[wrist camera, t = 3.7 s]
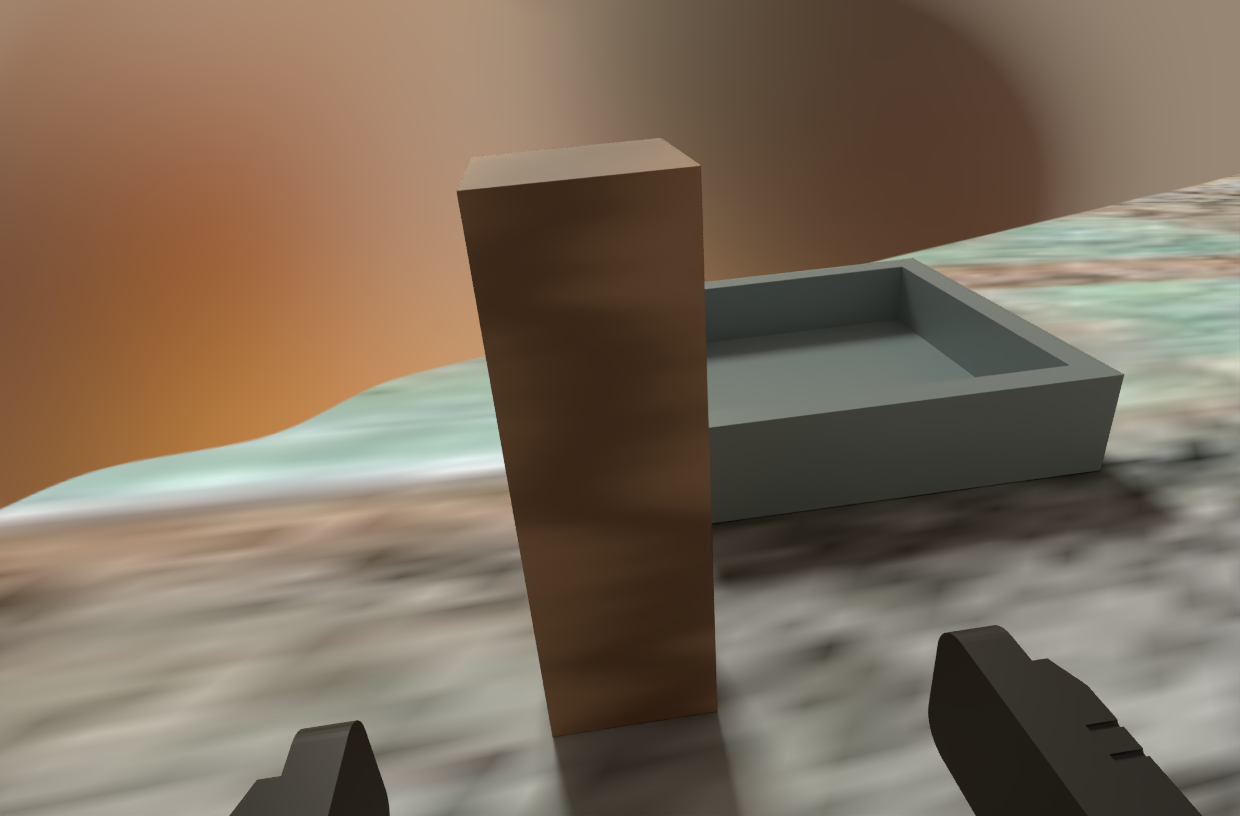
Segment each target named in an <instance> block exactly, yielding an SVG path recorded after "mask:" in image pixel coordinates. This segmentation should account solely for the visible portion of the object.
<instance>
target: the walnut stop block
mask: <svg viewBox="0 0 1240 816" xmlns="http://www.w3.org/2000/svg"><path fill="white" fill-rule="evenodd" d="M701 186H702V184H701V165H699V164H698V163H696V162H695V161H693V160H692V159H691V158H689V157H688V156H686V155H685V154H683V153H682V152H680V151H679V150H677V149H676V148H675V147H673V146H672V145H670V144H669V143H667V142H666V141H664V140H663V139H662V138H657V139H647V140H636V141H626V142H616V143H606V144H597V145H586V146H576V147H566V148H557V149H546V150H536V151H527V152H517V153H507V154H497V155H487V156H477V157H472V159H471V161H470V163H469V165H468V167H467V169H466V172H465V174H464V176H463V178H462V180H461V182H460V185H459V187H458V189H457V196H458V202H459V207H460V213H461V219H462V224H463V229H464V236H465V241H466V247H467V253H468V258H469V264H470V270H471V276H472V281H473V287H474V293H475V298H476V304H477V310H478V314H479V321H480V327H481V332H482V337H483V343H484V349H485V355H486V361H487V366H488V372H489V378H490V384H491V389H492V395H493V401H494V406H495V412H496V418H497V423H498V429H499V435H500V440H501V446H502V452H503V457H504V463H505V469H506V474H507V480H508V486H509V492H510V497H511V503H512V509H513V514H514V520H515V526H516V531H517V537H518V543H519V548H520V554H521V560H522V565H523V571H524V577H525V582H526V588H527V594H528V599H529V605H530V611H531V617H532V622H533V628H534V634H535V639H536V645H537V651H538V656H539V662H540V668H541V673H542V679H543V685H544V690H545V696H546V702H547V707H548V713H549V719H550V725H551V730H552V736H553V737H554V736H560V735H567V734H573V733H579V732H586V731H592V730H599V729H605V728H612V727H618V726H625V725H631V724H638V723H644V722H651V721H657V720H664V719H670V718H677V717H683V716H690V715H696V714H703V713H709V712H716V711H717V684H716V651H715V617H714V584H713V551H712V517H711V484H710V450H709V417H708V384H707V350H706V317H705V283H704V253H703V252H704V250H703V217H702V187H701Z"/></svg>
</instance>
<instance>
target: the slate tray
mask: <svg viewBox="0 0 1240 816" xmlns="http://www.w3.org/2000/svg"><path fill="white" fill-rule="evenodd" d="M704 283H705V317H706V350H707V384H708V417H709V450H710V484H711V517H712V523H719V522H726V521H733V520H740V519H748V518H755V517H762V516H770V515H777V514H784V513H791V512H799V511H806V510H813V509H821V508H828V507H835V506H843V505H850V504H857V503H864V502H872V501H879V500H886V499H894V498H901V497H908V496H916V495H923V494H930V493H937V492H945V491H952V490H959V489H967V488H974V487H981V486H989V485H996V484H1003V483H1010V482H1018V481H1025V480H1032V479H1040V478H1047V477H1054V476H1062V475H1069V474H1076V473H1083V472H1091V471H1098V470H1101V466H1102V462H1103V458H1104V454H1105V450H1106V446H1107V442H1108V438H1109V434H1110V430H1111V426H1112V422H1113V417H1114V413H1115V409H1116V405H1117V401H1118V397H1119V393H1120V389H1121V385H1122V381H1123V377H1124V374H1122V373H1121V372H1119V371H1117V370H1115V369H1113V368H1112V367H1110V366H1108V365H1106V364H1104V363H1103V362H1101V361H1099V360H1097V359H1095V358H1093V357H1092V356H1090V355H1088V354H1086V353H1084V352H1083V351H1081V350H1079V349H1077V348H1075V347H1073V346H1072V345H1070V344H1068V343H1066V342H1064V341H1063V340H1061V339H1059V338H1057V337H1055V336H1053V335H1052V334H1050V333H1048V332H1046V331H1044V330H1043V329H1041V328H1039V327H1037V326H1035V325H1033V324H1032V323H1030V322H1028V321H1026V320H1024V319H1023V318H1021V317H1019V316H1017V315H1015V314H1014V313H1012V312H1010V311H1008V310H1006V309H1004V308H1003V307H1001V306H999V305H997V304H995V303H994V302H992V301H990V300H988V299H986V298H984V297H983V296H981V295H979V294H977V293H975V292H974V291H972V290H970V289H968V288H966V287H964V286H963V285H961V284H959V283H957V282H955V281H954V280H952V279H950V278H948V277H946V276H944V275H943V274H941V273H939V272H937V271H935V270H934V269H932V268H930V267H928V266H926V265H925V264H923V263H921V262H919V261H917V260H915V259H914V258H911V259H902V260H894V261H885V262H876V263H867V264H859V265H850V266H841V267H832V268H824V269H816V270H806V271H798V272H789V273H780V274H771V275H763V276H754V277H745V278H736V279H728V280H719V281H711V282H704Z"/></svg>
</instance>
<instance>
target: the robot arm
mask: <svg viewBox="0 0 1240 816" xmlns="http://www.w3.org/2000/svg"><path fill="white" fill-rule="evenodd" d="M928 717H929V724H930V729H931V733H932V736H933V739H934V742H935V745H936V747H937V749H938V751H939V753H940V755H941V757H942V759H943V761H944V762H945V764H946V766H947V767H948V769H949V771H950V773H951V774H952V776H953V778H954V779H955V781H956V783H957V785H958V786H959V788H960V790H961V791H962V793H963V795H964V796H965V798H966V800H967V802H968V803H969V805H970V807H971V808H972V810H973V812H974V813H975V815H976V816H1202V815H1201V814H1200V813H1199V812H1198V811H1197V809H1196V808H1195V807H1194V806H1193V805H1192V804H1191V803H1190V801H1189V800H1188V799H1187V798H1186V797H1185V796H1184V795H1183V794H1182V792H1181V791H1180V790H1179V789H1178V788H1177V787H1176V786H1175V784H1174V783H1173V782H1172V781H1171V780H1170V779H1169V778H1168V776H1167V775H1166V774H1165V773H1164V772H1163V771H1162V770H1161V769H1160V767H1159V766H1158V765H1157V764H1156V763H1155V762H1154V761H1153V759H1152V758H1151V757H1150V756H1145V754H1144V753H1143V748H1142V747H1141V746H1140V745H1139V744H1138V742H1137V741H1136V740H1135V739H1134V738H1133V737H1132V736H1131V734H1130V733H1129V732H1128V731H1127V730H1126V729H1125V728H1124V727H1120V726H1119V724H1118V721H1117V719H1116V717H1115V716H1114V715H1113V714H1112V713H1111V712H1110V711H1109V709H1108V708H1107V707H1106V706H1105V705H1104V704H1103V703H1102V702H1101V700H1100V699H1099V698H1098V697H1097V696H1096V695H1095V694H1094V692H1093V691H1092V690H1091V689H1090V688H1089V687H1088V686H1087V685H1086V684H1084V683H1083V682H1082V681H1080V680H1079V679H1077V678H1076V677H1074V676H1073V675H1071V674H1070V673H1068V672H1067V671H1065V670H1064V669H1062V668H1061V667H1059V666H1058V665H1056V664H1055V663H1053V662H1052V661H1050V660H1049V659H1040V660H1034V661H1032V660H1031V659H1030V658H1029V656H1028V655H1027V654H1026V653H1025V652H1024V650H1023V649H1022V648H1021V647H1020V646H1019V644H1018V643H1017V642H1016V641H1015V640H1014V638H1013V637H1012V636H1011V635H1010V634H1009V633H1008V632H1007V631H1006V630H1005V629H1004V628H1002V627H1000V626H997V625H994V626H987V627H980V628H974V629H967V630H960V631H954V632H947V633H944V634H942V635H941V636H940V639H939V641H938V647H937V653H936V660H935V666H934V673H933V680H932V686H931V693H930V699H929V707H928ZM230 816H390V812H389V803H388V797H387V793H386V789H385V786H384V783H383V780H382V777H381V775H380V772H379V769H378V766H377V763H376V760H375V757H374V754H373V751H372V748H371V745H370V742H369V739H368V736H367V733H366V731H365V728H364V726H363V724H362V723H361V722H360V721H358V720H357V721H350V722H344V723H337V724H331V725H324V726H318V727H311V728H305V729H301V730H300V731H298V733H297V734H296V735H295V737H294V739H293V742H292V745H291V748H290V751H289V754H288V757H287V760H286V763H285V766H284V769H283V772H282V775H281V776H279V777H272V778H266V779H260V780H256V782H255V783H254V784H253V786H252V787H251V788H250V790H249V791H248V792H247V794H246V795H245V796H244V797H243V799H242V800H241V801H240V803H239V804H238V805H237V807H236V808H235V809H234V811H233V812H232V813H231V814H230Z"/></svg>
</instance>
